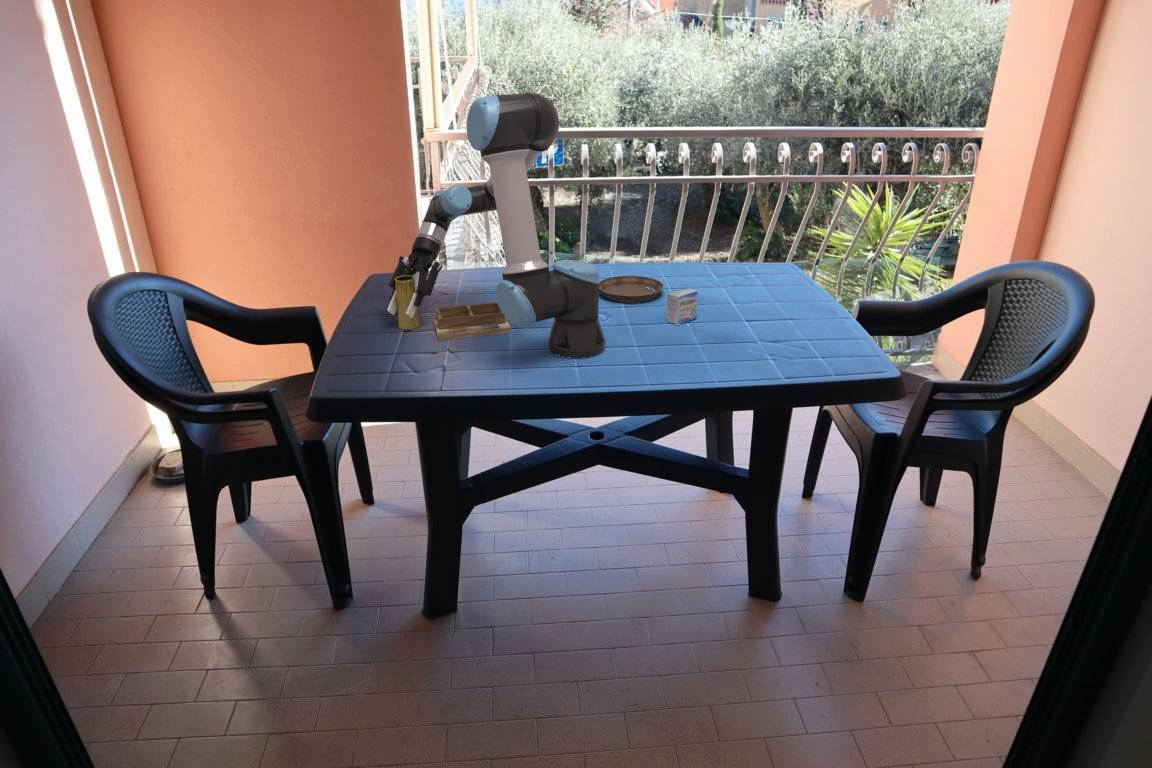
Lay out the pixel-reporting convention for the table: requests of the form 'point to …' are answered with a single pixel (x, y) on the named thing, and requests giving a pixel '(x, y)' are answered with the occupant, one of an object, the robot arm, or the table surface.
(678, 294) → the medicine box
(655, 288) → the plant saucer
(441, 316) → the tray
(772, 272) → the table surface
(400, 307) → the vase
